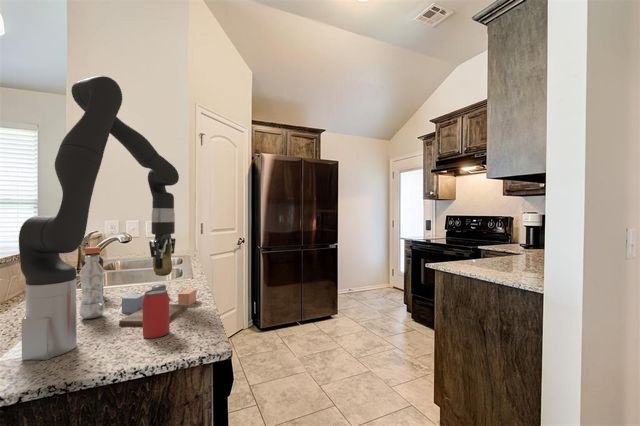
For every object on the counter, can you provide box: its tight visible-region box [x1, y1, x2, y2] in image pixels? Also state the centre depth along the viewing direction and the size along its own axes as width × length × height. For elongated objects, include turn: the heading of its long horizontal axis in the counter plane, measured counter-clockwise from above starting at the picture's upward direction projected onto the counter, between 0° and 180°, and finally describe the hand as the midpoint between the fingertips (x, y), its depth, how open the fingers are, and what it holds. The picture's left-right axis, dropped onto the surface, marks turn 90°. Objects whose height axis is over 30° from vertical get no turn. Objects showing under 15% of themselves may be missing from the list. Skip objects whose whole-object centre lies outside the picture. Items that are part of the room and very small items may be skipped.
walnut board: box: [118, 303, 188, 327], centre depth 97 cm, size 16×13×2 cm
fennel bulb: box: [152, 243, 173, 277], centre depth 108 cm, size 6×5×12 cm
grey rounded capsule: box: [151, 283, 167, 290], centre depth 117 cm, size 5×5×5 cm
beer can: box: [142, 288, 170, 339], centre depth 83 cm, size 7×7×12 cm
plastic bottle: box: [79, 254, 106, 320], centre depth 96 cm, size 6×7×20 cm
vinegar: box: [81, 246, 104, 294], centre depth 118 cm, size 7×7×20 cm
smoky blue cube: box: [121, 293, 145, 314], centre depth 103 cm, size 5×5×5 cm
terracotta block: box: [177, 288, 197, 307], centre depth 111 cm, size 6×4×4 cm, turn 0°
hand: (163, 267), depth 108 cm, fingers closed on fennel bulb, 4 cm apart
